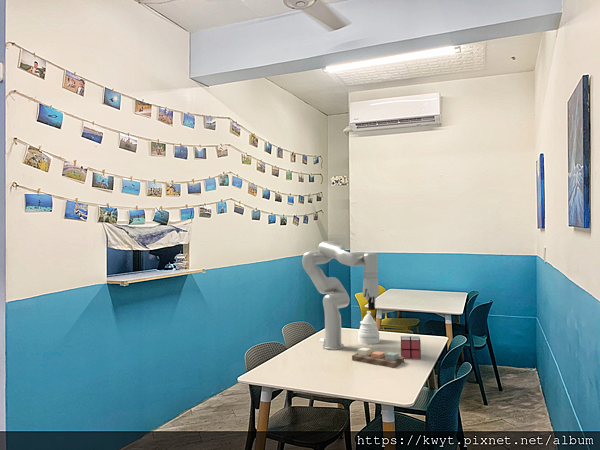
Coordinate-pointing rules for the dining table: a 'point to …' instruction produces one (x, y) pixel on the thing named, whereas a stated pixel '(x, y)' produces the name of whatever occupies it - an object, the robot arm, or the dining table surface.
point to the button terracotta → (377, 354)
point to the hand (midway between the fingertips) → (371, 309)
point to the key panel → (378, 360)
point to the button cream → (364, 351)
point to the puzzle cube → (410, 347)
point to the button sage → (391, 356)
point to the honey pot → (368, 330)
